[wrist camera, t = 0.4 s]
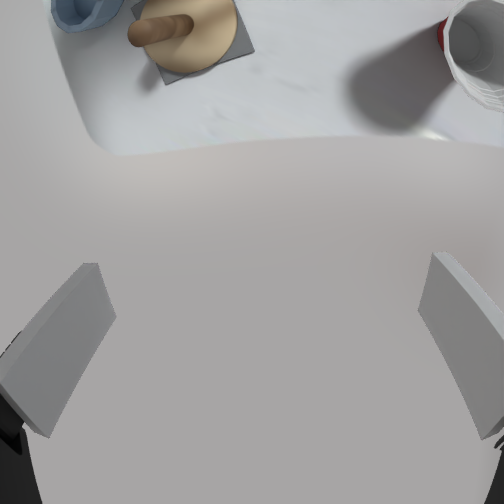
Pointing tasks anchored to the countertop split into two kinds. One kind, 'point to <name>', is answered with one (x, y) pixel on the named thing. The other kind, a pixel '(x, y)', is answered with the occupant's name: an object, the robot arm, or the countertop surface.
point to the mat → (237, 49)
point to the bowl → (83, 13)
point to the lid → (185, 32)
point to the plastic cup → (476, 49)
